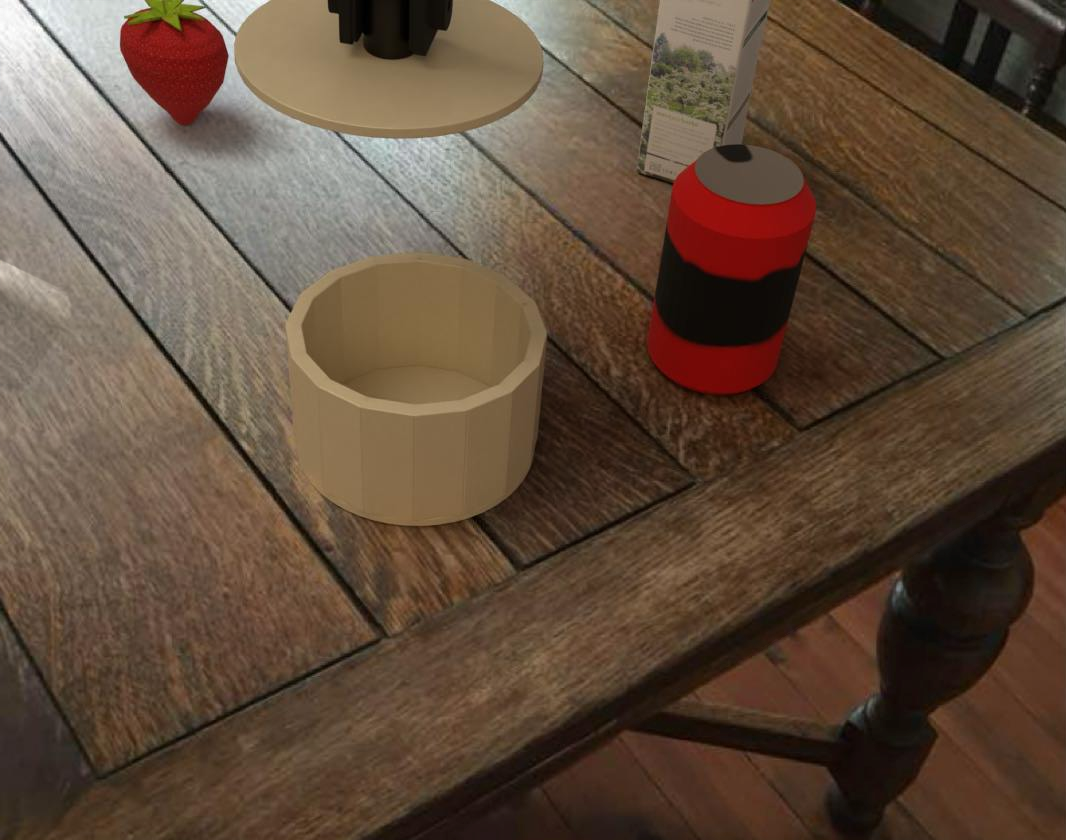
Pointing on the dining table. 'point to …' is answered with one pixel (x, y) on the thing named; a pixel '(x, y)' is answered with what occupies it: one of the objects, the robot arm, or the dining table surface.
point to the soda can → (729, 268)
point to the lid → (388, 68)
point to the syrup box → (699, 81)
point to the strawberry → (175, 56)
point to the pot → (415, 387)
